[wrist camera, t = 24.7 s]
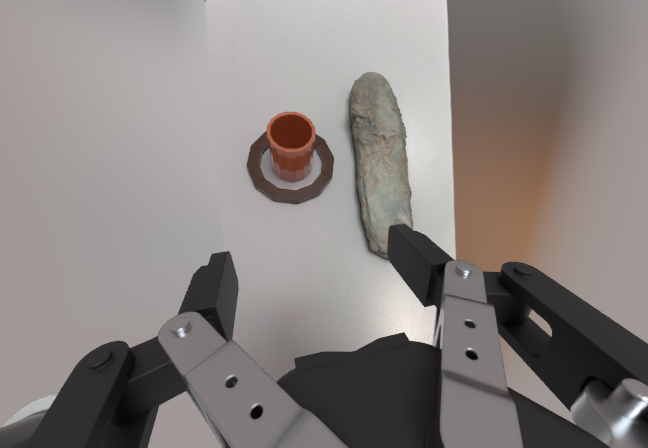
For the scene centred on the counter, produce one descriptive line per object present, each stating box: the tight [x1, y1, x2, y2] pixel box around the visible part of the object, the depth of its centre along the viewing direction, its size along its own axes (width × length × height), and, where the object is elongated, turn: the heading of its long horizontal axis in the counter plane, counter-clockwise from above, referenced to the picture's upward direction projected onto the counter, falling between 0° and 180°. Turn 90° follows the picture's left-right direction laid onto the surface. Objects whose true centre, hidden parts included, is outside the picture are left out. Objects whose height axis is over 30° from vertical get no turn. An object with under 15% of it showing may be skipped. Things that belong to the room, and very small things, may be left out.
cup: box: [267, 112, 315, 182], centre depth 38 cm, size 6×6×8 cm
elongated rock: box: [350, 72, 413, 259], centre depth 42 cm, size 35×5×10 cm
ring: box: [247, 131, 334, 204], centre depth 41 cm, size 14×14×1 cm
